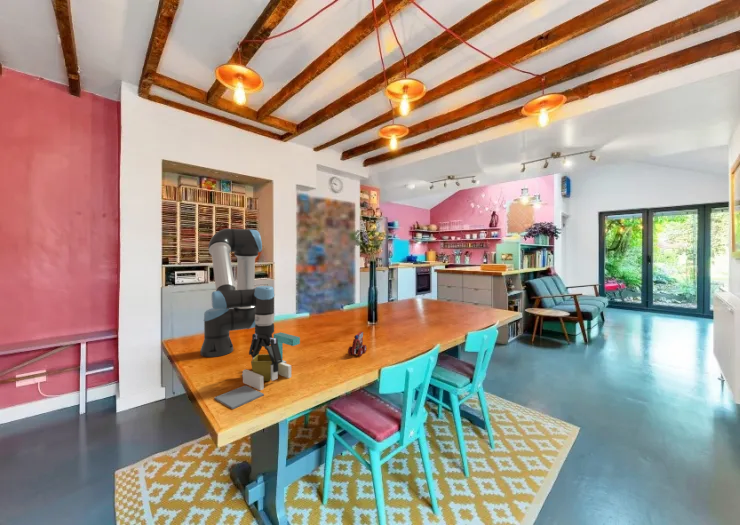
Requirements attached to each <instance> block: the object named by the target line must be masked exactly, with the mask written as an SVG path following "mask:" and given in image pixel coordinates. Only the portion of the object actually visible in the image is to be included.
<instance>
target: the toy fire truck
mask: <svg viewBox="0 0 740 525" xmlns="http://www.w3.org/2000/svg"><path fill="white" fill-rule="evenodd" d="M363 337H364V332H363V331H359V332H358V333H357V334H355V335H354V339H353V341H352V345H351V346H349V347H348V349H347V353H348V355H350V356H351V355H353V356H355V355H357V356H359V357H362V356H363V354H366V352H367V345H366V344H363V343H364V342H363V341H364V338H363Z"/></svg>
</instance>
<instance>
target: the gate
mask: <svg viewBox="0 0 740 525" xmlns="http://www.w3.org/2000/svg"><path fill="white" fill-rule="evenodd" d="M273 338H277V339H278V347H279V351H280V355H281V359H282V362H283V360H284V358H283V357H284V356H283V352H284V349H283V344H284V345H289V346H292V347H295V346H297V345H300V344H301V337H300V336H296V335H294V334H293V335H292V334H288V333H286V332H281V331H280V332H277V333H273Z"/></svg>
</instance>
